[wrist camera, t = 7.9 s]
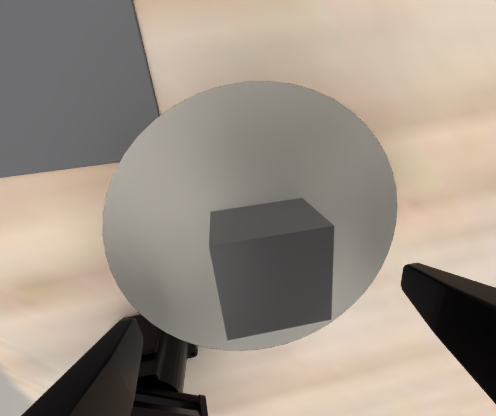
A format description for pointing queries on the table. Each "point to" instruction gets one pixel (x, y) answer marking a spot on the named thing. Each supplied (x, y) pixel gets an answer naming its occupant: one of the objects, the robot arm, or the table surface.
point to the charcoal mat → (70, 84)
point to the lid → (249, 215)
